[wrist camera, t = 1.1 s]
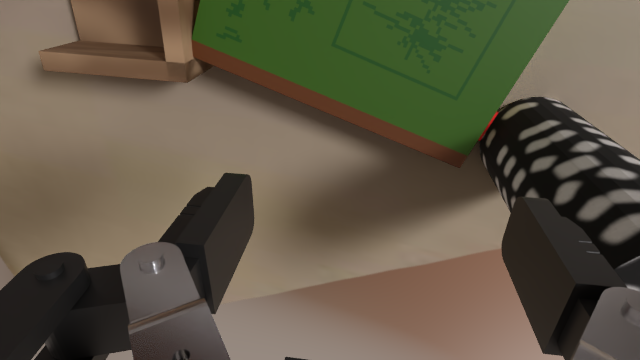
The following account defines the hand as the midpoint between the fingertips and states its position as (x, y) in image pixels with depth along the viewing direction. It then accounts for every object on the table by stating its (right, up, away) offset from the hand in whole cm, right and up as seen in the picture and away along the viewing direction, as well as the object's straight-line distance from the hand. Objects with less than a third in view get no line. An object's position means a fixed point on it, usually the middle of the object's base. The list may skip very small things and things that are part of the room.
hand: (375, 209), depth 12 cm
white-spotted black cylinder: (+17, +4, +23) cm, 29 cm away
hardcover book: (+3, +16, +19) cm, 25 cm away
